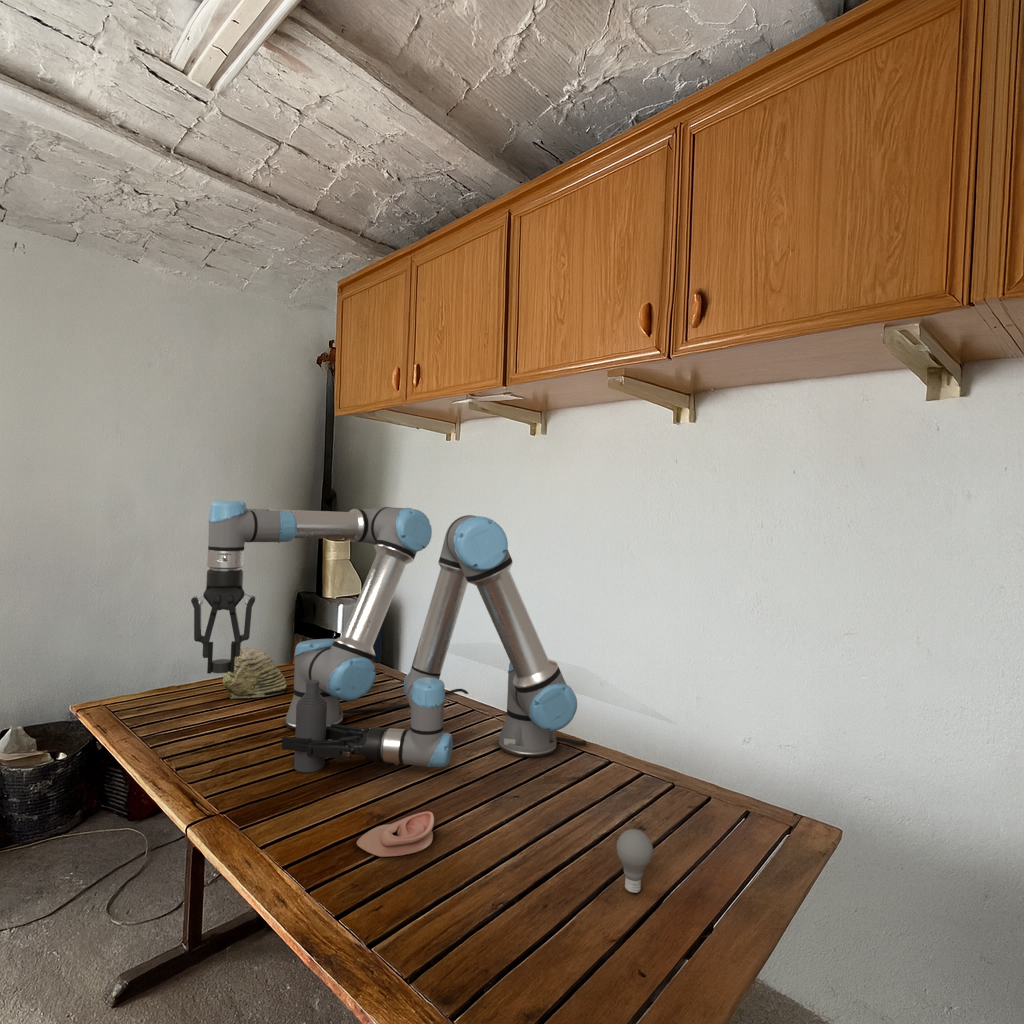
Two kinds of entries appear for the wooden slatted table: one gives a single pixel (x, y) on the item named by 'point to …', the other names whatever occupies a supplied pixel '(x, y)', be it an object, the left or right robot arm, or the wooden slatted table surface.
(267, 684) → the fossil
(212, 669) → the cap
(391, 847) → the anatomical model
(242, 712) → the wooden slatted table surface
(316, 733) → the bottle
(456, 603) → the right robot arm
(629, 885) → the light bulb
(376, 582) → the left robot arm
